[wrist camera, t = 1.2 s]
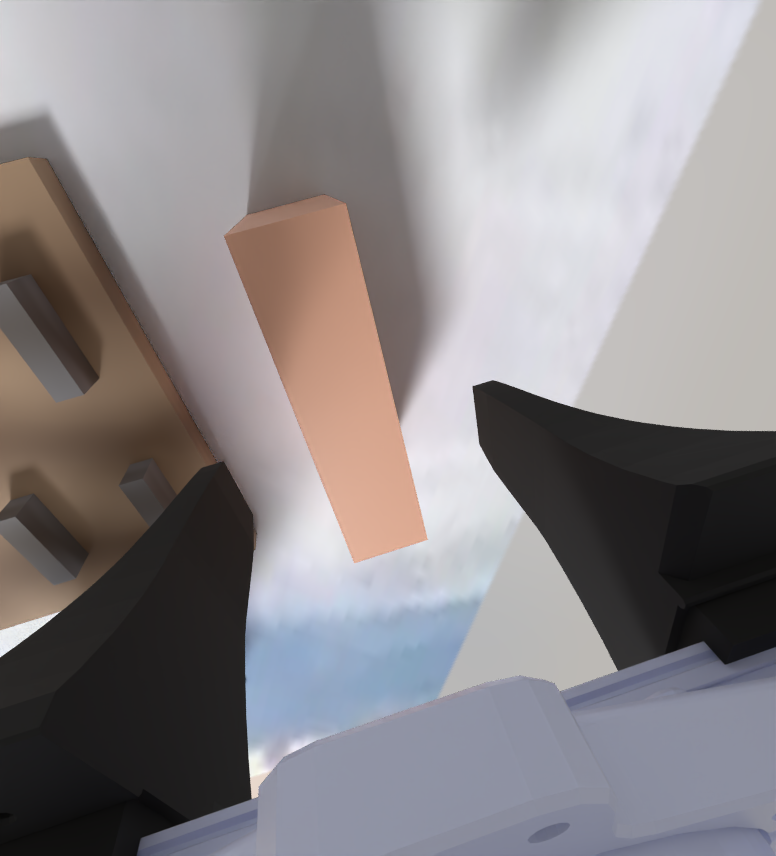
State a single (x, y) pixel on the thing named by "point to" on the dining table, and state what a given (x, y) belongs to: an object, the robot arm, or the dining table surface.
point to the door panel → (331, 365)
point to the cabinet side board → (74, 407)
